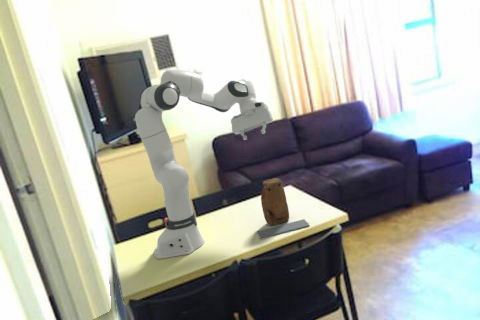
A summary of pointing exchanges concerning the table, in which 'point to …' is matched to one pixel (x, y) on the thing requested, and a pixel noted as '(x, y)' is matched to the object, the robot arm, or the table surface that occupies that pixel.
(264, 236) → the mat
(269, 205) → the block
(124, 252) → the table surface
